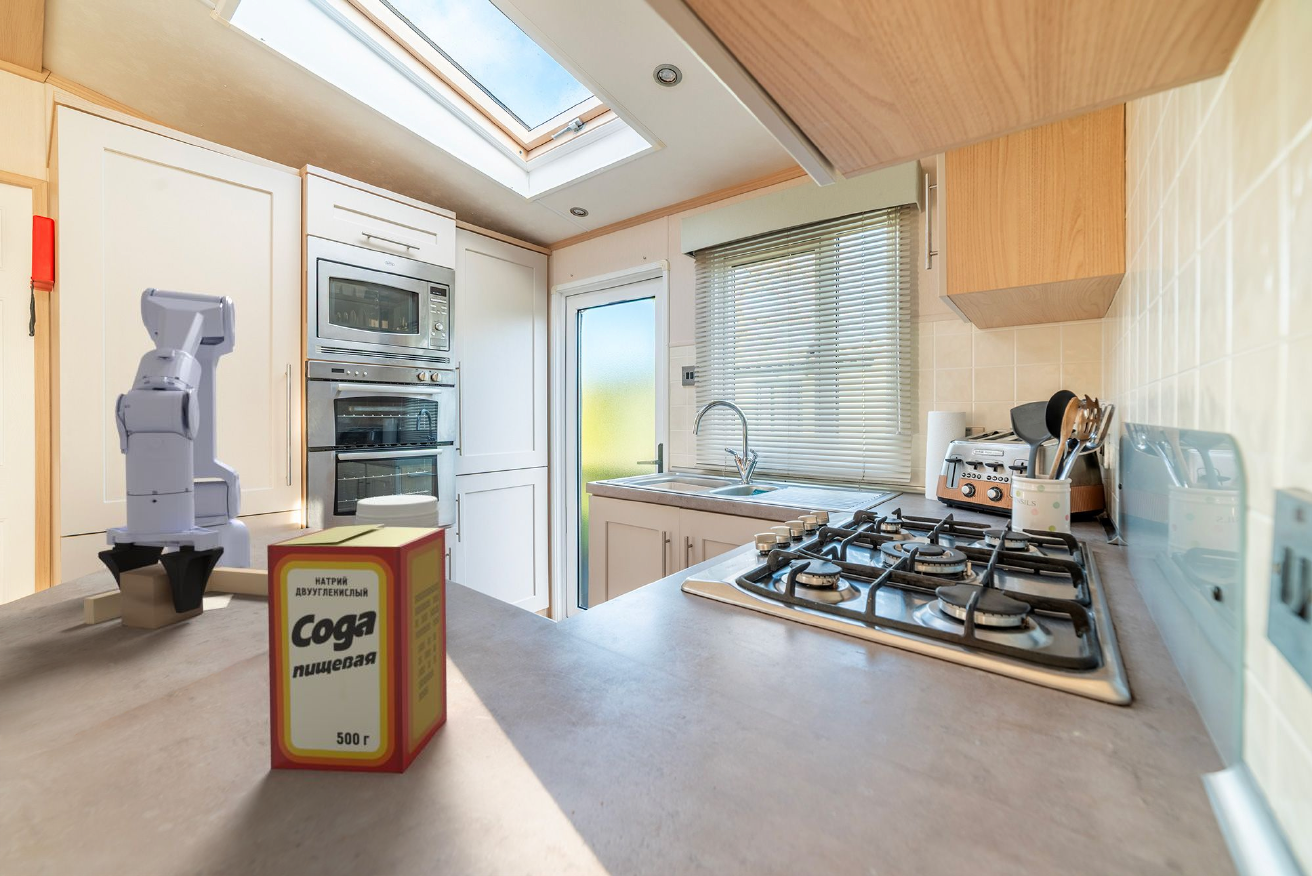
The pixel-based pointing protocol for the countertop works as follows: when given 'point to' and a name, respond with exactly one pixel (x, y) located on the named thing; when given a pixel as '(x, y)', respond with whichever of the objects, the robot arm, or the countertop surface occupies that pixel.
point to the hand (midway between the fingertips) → (163, 607)
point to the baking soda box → (356, 647)
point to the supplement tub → (398, 511)
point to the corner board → (219, 580)
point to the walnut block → (149, 598)
